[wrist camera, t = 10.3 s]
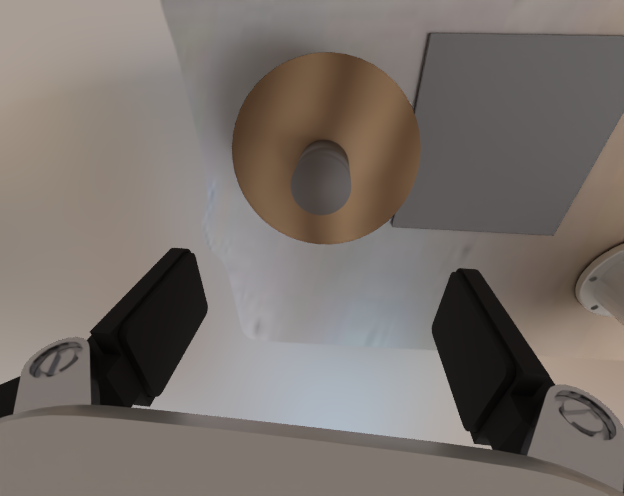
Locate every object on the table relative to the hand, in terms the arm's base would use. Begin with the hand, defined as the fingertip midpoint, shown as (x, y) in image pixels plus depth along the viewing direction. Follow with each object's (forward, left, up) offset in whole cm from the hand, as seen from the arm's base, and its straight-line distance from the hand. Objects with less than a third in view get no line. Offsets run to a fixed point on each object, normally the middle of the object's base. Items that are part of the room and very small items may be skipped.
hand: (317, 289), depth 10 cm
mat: (-18, 0, -24) cm, 29 cm away
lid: (0, 0, -16) cm, 16 cm away
